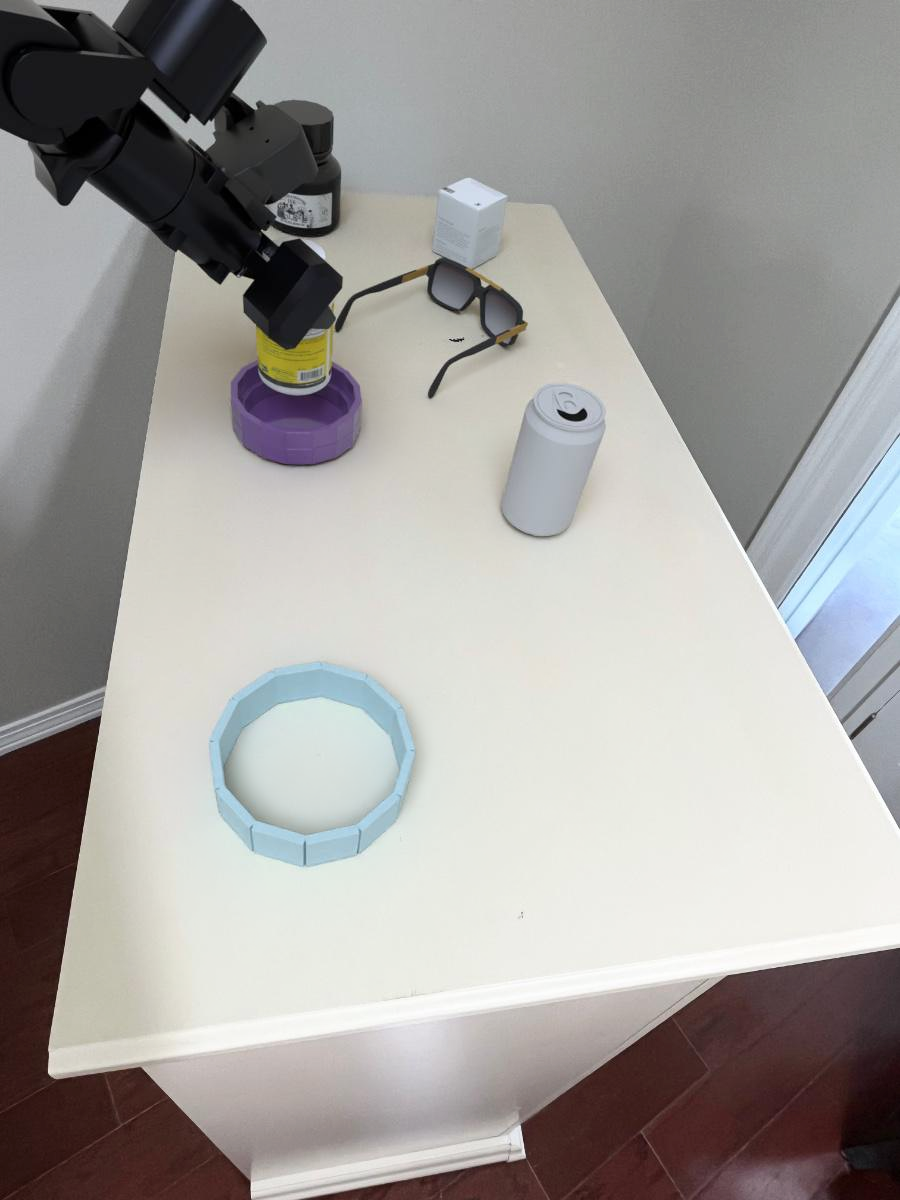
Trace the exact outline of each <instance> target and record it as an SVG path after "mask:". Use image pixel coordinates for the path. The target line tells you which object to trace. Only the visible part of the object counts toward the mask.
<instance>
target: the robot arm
mask: <svg viewBox="0 0 900 1200" xmlns="http://www.w3.org/2000/svg"><path fill="white" fill-rule="evenodd" d="M267 44H268V40H267V38H266V36H265V34H264V32H263V31H262V29H261V28H260V27H259V26H258V24H257V23H256V21H254V19H253V17H251V15H250V14H249V13H248V12H247V11H246V9H245V8H244V7H243V6H242V5H240V4H239V3H238V2H236V1H235V0H128V1H127V3H126V4H125V6H124V7H123V8H122V9H121V11H120V13H119V15H118V16H117V18H116V19H115V21H114V22H113V24H112V25H109V24H108V22H107V23H106V21H104V20H103V19H102V18H101V17H100V16H98V15H97V14H96V13H95V12H93V11H91V10H85V9H84V10H83V9H75V8H68V7H60V6H53V5H52V6H51V5H43V4H37V2H35V1H34V0H0V130H1V131H4V132H6V133H8V134H11V135H13V136H15V137H16V138H19V139H21V140H24V141H27V147H28V148H29V150H30V152H31V154H32V157H33V164H34V165H33V166H34V174H35V178H36V181H38V182H39V183H40V185H41V186H42V187H43V188H44V189H45V190H46V191H47V192H48V194H50V196H51V197H52V198H53V199H54V200H55V201H56V202H57V204H59V205H60V206H62V207H68V206H69V205H70V204H71V203H72V202H73V200H74V199H75V197H76V196H77V194H78V193H79V191H80V190H81V189H82V187H83V185H84V184H85V182H87V183H88V184H89V185H91V186H92V187H93V188H94V189H96V190H97V191H99V192H100V193H101V194H102V195H104V196H105V197H107V198H108V199H109V200H111V202H113V203H115V204H116V205H118V206H119V208H121V209H123V210H124V211H125V212H127V213H128V214H130V215H131V216H132V217H134V218H135V219H136V220H137V221H139V222H140V223H141V224H143V225H144V226H145V227H147V228H148V229H149V230H150V231H151V232H152V233H153V234H154V235H155V236H156V237H157V238H158V239H159V240H160V242H161V243H163V244H164V245H165V246H167V248H169V249H170V250H172V251H173V252H175V253H177V252H178V251H179V252H180V253H182V254H183V255H185V256H186V257H187V258H189V259H190V260H191V261H193V262H194V263H195V264H196V265H197V267H199V268H200V270H202V271H203V272H204V274H206V275H207V276H208V277H209V278H210V279H211V280H212V281H214V282H215V283H217V284H218V285H220V286H222V284H223V283H224V281H225V280H226V279H227V277H228V276H229V275H230V274H232V275H233V276H235V277H236V278H238V279H240V278H242V277H244V278H247V279H250V280H253V281H252V282H251V283H250V285H249V286H248V287H247V288H246V290H245V291H244V293H243V294H242V306H243V314H244V315H245V316H246V317H247V318H248V319H249V320H250V321H251V322H252V323H253V324H254V325H255V327H256V326H257V327H258V328H259V329H260V330H261V331H262V332H263V333H264V334H265V335H266V336H267V337H268V338H269V339H271V340H272V341H274V342H275V343H277V344H278V345H279V346H281V347H282V348H284V349H285V350H289V349H294V348H296V347H297V345H298V344H299V343H300V342H301V340H302V339H303V338H304V336H305V335H306V334H307V333H308V331H309V330H310V329H329V328H330V327H331V326H332V324H333V325H334V324H335V323H336V321H337V317H336V315H335V313H334V314H333V312H332V310H331V309H330V307H329V304H330V303H331V302H332V301H333V299H334V300H335V298H336V297H337V295H338V294H339V293H340V292H341V290H342V289H343V283H344V277H343V275H342V274H340V273H339V272H338V270H336V269H335V268H334V267H333V266H332V265H331V264H329V262H327V260H326V261H325V260H324V259H323V258H322V257H320V256H319V255H318V254H317V253H316V252H315V251H314V250H313V249H311V248H310V247H309V246H308V245H307V244H306V243H305V242H303V241H302V240H301V239H302V238H301V239H300V237H298V238H299V239H294V240H289V241H284V242H282V243H281V245H280V246H278V245H276V244H275V243H274V242H273V239H271V238H270V237H269V236H268V235H267V234H265V232H267V231H268V230H269V229H270V227H271V226H272V223H273V222H274V220H275V219H276V218H277V216H276V215H275V214H274V213H272V212H271V211H270V210H269V209H268V208H267V207H266V206H265V205H270V204H273V203H276V202H277V201H279V200H280V199H282V198H283V197H284V196H286V195H287V194H289V193H290V192H291V191H293V190H294V189H295V188H297V187H298V186H300V185H301V184H302V183H308V182H310V181H311V180H313V179H314V178H315V176H316V175H317V173H318V167H317V164H316V162H315V159H314V157H313V154H312V151H311V149H310V146H309V144H308V141H307V138H306V136H305V133H304V130H303V128H302V126H301V124H300V123H298V122H297V121H296V120H295V119H293V118H292V117H291V116H289V115H288V114H287V113H285V112H284V111H283V110H281V109H280V108H279V107H277V106H276V105H274V104H266V103H265V102H263V100H261V99H259V100H258V101H256V102H255V107H256V108H257V109H255V108H253V107H252V106H251V105H249V104H248V103H247V102H246V101H244V100H243V99H242V98H241V97H239V96H238V95H237V94H236V93H234V91H235V89H236V88H237V86H238V85H239V84H240V82H241V81H242V79H243V78H244V76H245V75H246V74H247V73H248V71H249V70H250V68H251V66H253V64H254V62H255V61H256V59H257V58H258V57H259V55H260V54H261V53H262V52H263V50H264V48H265V47H266V45H267ZM147 90H148V91H149V92H150V93H151V94H152V95H153V96H154V97H155V98H156V99H157V100H158V101H159V102H161V103H162V104H163V105H164V106H165V107H166V108H167V109H168V110H169V111H170V112H172V113H173V114H174V115H175V116H176V117H177V118H178V119H179V120H180V121H182V122H183V123H184V124H186V125H187V124H188V122H189V121H190V119H191V118H192V117H194V118H195V119H196V121H198V122H199V123H200V124H201V125H202V126H203V127H206V125H207V124H208V122H211V123H212V122H213V125H214V131H213V132H212V135H213V137H214V142H213V143H212V144H211V145H210V146H209V147H208V148H207V149H206V150H204V149H203V148H202V147H201V146H200V145H199V144H198V143H196V142H195V141H194V140H193V138H190V137H189V139H188V140H186V139H185V138H184V136H182V134H180V133H179V132H177V130H175V128H174V127H172V126H171V125H170V123H168V122H167V121H166V120H165V119H164V118H163V117H162V116H160V115H159V114H158V113H157V112H156V111H155V110H154V109H153V108H151V107H150V105H148V103H146V102H145V101H144V100H143V99H142V97H143V95H144V94H145V92H146V91H147ZM263 253H264V254H265V255H266V256H268V257H269V258H270V259H269V261H267V260H266V259H265V258H263Z"/></svg>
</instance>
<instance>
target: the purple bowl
mask: <svg viewBox="0 0 900 1200" xmlns="http://www.w3.org/2000/svg"><path fill="white" fill-rule="evenodd" d="M361 391H362V390H361V386H360V384H359V383H358V381H357V380H356V379H355V377H354V376H353V375H352V373H350V371H348V369H346V368H344V367H342V366H341V365H338V364H337V363H335V362H334V361H332V370H331V377H330V380H329V382H328V383H327V385H326V386H325V387H324V388H322V389H321V390H319V391H317V392H314V393H311V394H307V395H297V396H296V395H288V394H284V393H281V392H278V391H276V390H274V389H272V388H270V387H269V386H267V385H266V384H265V383H264V382H263V381H262V379H261V377H260V375H259V371H258V359H255V360H254V361H252V362H250V363H248V364H246V365H245V366H243V367H241V368H240V369H239V370H238V372H237V373H236V374H235V376H234V377H233V378H232V380H231V381H230V407H231V419H232V429H233V432H234V433H235V435H236V437H237V438H238V440H239V441H240V443H241V445H242V446H243V447H245V448H247V449H248V450H250V451H251V452H253V453H254V454H255V455H258V456H259V457H260V458H262V459H266V460H269V461H272V462H276V463H280V464H284V465H297V466H305V465H316V464H319V463H322V462H325V461H326V462H327V461H331V460H333V459H335V458H338V457H340V456H341V455H342V454H343V453H346V451H348V450H349V449H350V448H352V447H353V445H354V443H355V442H356V440H357V438H358V436H359V434H360V431H361V419H362V403H363V399H362V392H361Z"/></svg>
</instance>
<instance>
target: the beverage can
mask: <svg viewBox="0 0 900 1200" xmlns="http://www.w3.org/2000/svg"><path fill="white" fill-rule="evenodd" d="M533 394H534V395H533V397H532V399H530V400H529V401H528V403H527V404H526V406H525V408H524V412H523V417H522V421H521V424H520V429H519V432H518V436H517V438H516V439H517V440H516V444H515V448H514V451H513V455H512V459H511V462H510V466H509V470H508V474H507V478H506V482H505V486H504V490H503V492H502V497H501V501H500V507H501V511H502V514H503V515H504V517H505V520H507V521H508V522H509V523H510V525H512V526H513V527H514V528H516V529H518V530H519V531H521V532H523V533H525V534H526V535H527V534H528V535H530V536H534V537H548V536H549V537H550V536H554V535H558V534H561V533H562V532H565V531H566V530H567V529H568V528H569V527H570V525H571V524H572V522H573V519H574V517H575V514H576V511H577V509H578V505H579V503H580V500H581V497H582V494H583V491H584V489H585V486H586V483H587V481H588V479H589V476H590V472H591V471H592V468H593V465H594V461H595V459H596V457H597V453H598V451H599V448H600V446H601V442H602V440H603V437H604V434H605V431H606V429H607V427H606V426H607V425H606V421H605V417H606V412H607V411H606V406H605V405H604V402H603V401H602V400H601V399H600V397H598V396H597V395H596V394H595V393H593V392H592V391H590V390H589V389H587V388H585V387H582V386H581V385H577V384H573V383H568V382H552V383H547V384H544V385H542V386H541V387H539V388H538V389H537V390H536V391H535V393H533Z"/></svg>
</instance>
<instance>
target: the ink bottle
mask: <svg viewBox="0 0 900 1200" xmlns="http://www.w3.org/2000/svg"><path fill="white" fill-rule="evenodd" d="M273 105H276V106H277V107H279V108H280V109H281V110H283V111H284V112H285V113H287V114H288V115H289V116H291V117H292V118H293V119H295V120H296V121H297V122H298V123H300V124H301V126H302V128H303V130H304V133H305V136H306V138H307V141H308V144H309V146H310V149H311V151H312V154H313V157H314V159H315V162H316V164H317V167H318V173H317V175H316V176H315V178H314V179H313V180H311V181H310V182H308V183H302V184H301V185H300V186H298V187H297V188H295V189H294V190H293V191H291V192H290V193H289V194H287V195H286V196H284V197H283V198H282V199H280V200H279V201H277V202H276V203H273V204H270V205H265V206H266V207H267V208H268V209H269V210H270V211H271V212H272V213H274V214H275V215H276V216H277V218H276V219H275V220H274V222H273V223H272V224H271V226H273V227H274V228H277V229H278V230H281V231H283V232H286V233H290V234H292V235H298V236H305V237H306V236H307V237H314V236H322V235H326V234H328V233H329V232H332V231H334V230H335V228H337V226H338V225H339V223H340V218H341V193H342V168H341V164H340V162H339V161H338V160H337V158H336V157H335V156H334V155H333V153H332V151H333V149H334V128H335V127H334V125H335V123H334V122H335V116H334V114H333V111H332V110H331V109H329V108H328V107H327V106H325V105H323V104H320V103H318V102H314V101H309V100H302V99H287V100H282V101H279V102H276V103H274V104H273Z"/></svg>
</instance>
